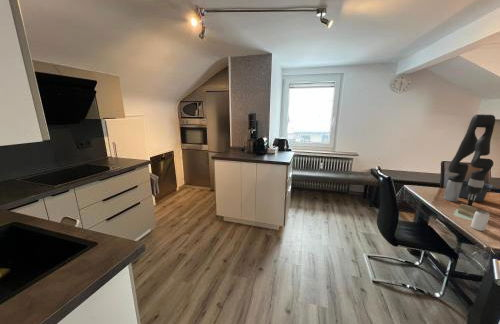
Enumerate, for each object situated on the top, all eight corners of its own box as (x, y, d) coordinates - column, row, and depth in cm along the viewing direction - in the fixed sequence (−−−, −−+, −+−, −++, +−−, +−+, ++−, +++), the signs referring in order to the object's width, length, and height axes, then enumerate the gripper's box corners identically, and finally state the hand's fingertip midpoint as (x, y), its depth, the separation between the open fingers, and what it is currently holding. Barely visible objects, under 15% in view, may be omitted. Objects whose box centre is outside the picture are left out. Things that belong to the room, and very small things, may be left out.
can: (471, 228, 135) (476, 212, 132) (469, 224, 140) (474, 208, 137) (485, 232, 131) (491, 215, 128) (483, 228, 136) (489, 211, 133)
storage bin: (451, 196, 187) (455, 181, 184) (454, 191, 197) (458, 177, 193) (486, 204, 171) (491, 188, 168) (487, 199, 181) (492, 184, 177)
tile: (458, 211, 157) (460, 203, 155) (475, 216, 150) (477, 207, 148) (457, 212, 155) (460, 204, 154) (474, 217, 149) (477, 208, 147)
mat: (456, 209, 162) (456, 208, 161) (478, 215, 153) (478, 214, 152) (453, 216, 152) (453, 215, 151) (476, 222, 143) (477, 222, 143)
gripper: (468, 181, 156) (462, 203, 160) (467, 185, 148) (460, 207, 152) (483, 184, 151) (477, 206, 155) (482, 188, 142) (475, 211, 147)
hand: (468, 207), depth 154 cm, fingers closed
